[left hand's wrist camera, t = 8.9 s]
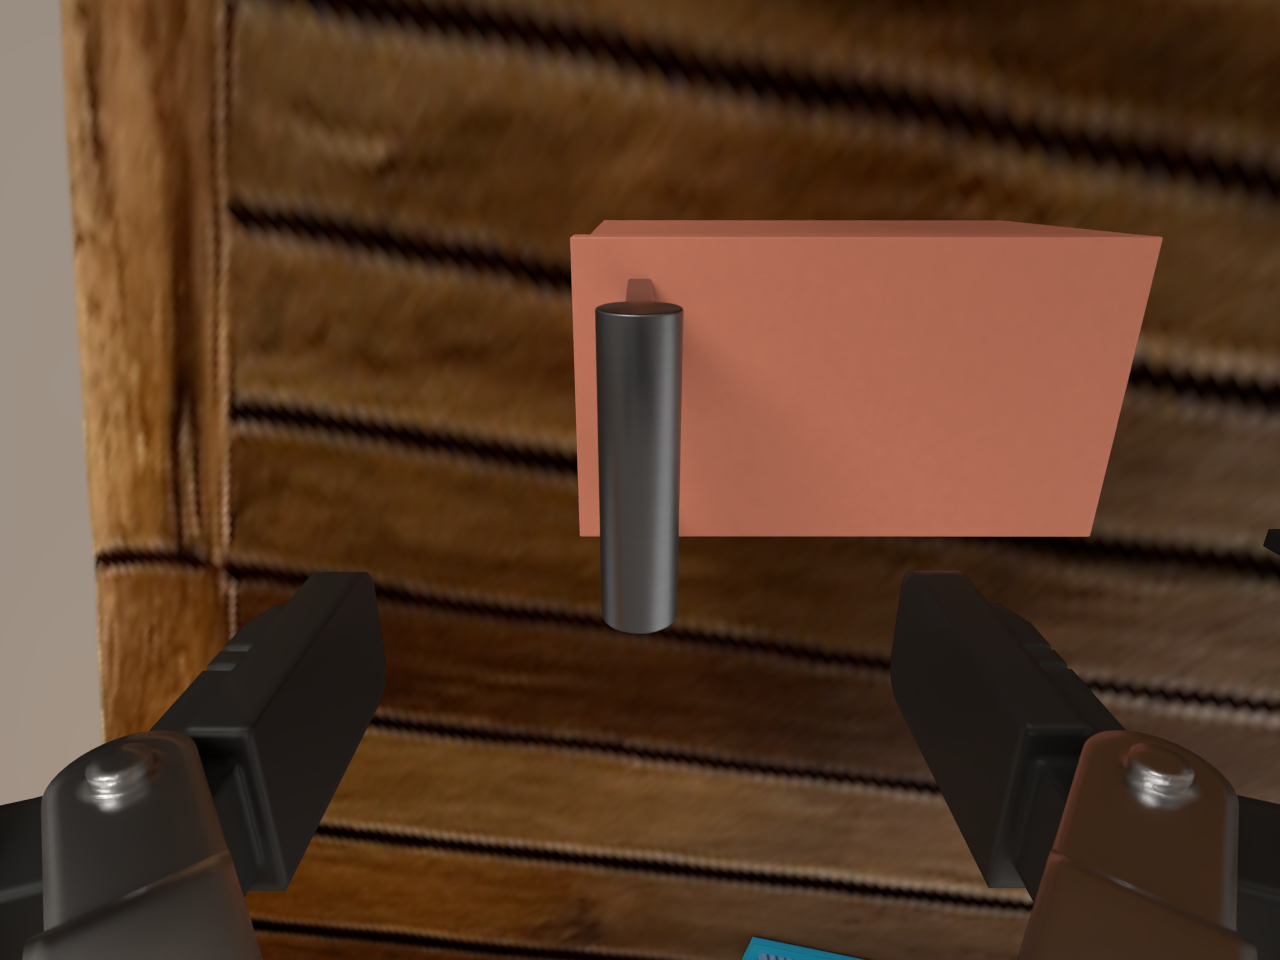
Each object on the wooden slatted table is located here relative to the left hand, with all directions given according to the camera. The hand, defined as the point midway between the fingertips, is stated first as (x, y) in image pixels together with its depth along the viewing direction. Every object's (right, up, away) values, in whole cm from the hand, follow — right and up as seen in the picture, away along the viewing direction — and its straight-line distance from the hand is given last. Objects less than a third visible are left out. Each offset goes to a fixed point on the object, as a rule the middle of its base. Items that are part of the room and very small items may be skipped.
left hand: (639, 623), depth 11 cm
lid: (+7, +5, +13) cm, 16 cm away
